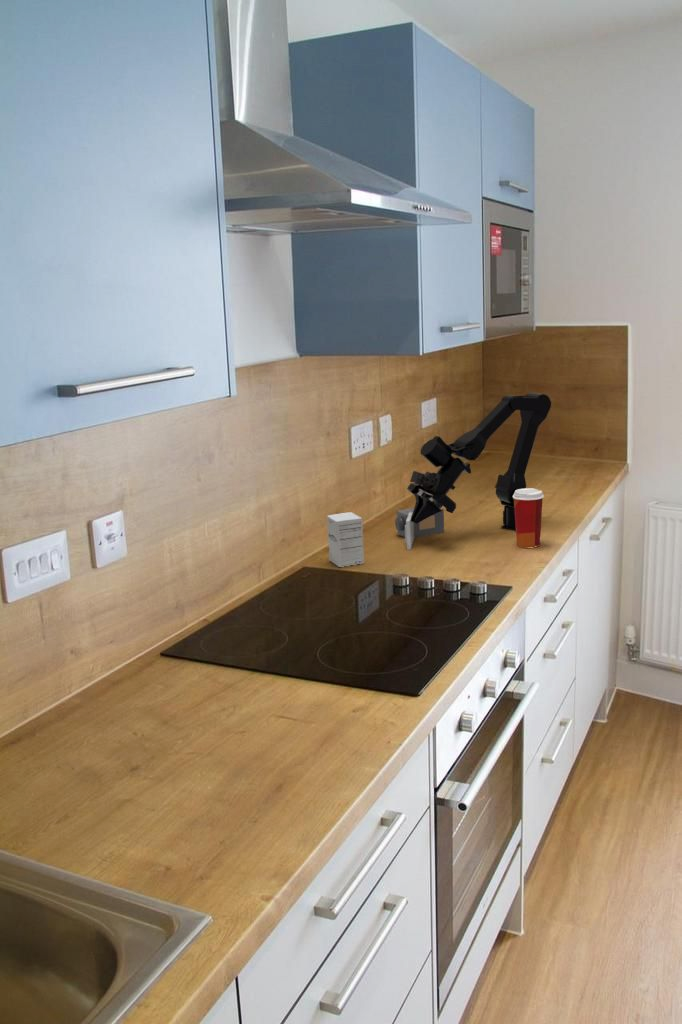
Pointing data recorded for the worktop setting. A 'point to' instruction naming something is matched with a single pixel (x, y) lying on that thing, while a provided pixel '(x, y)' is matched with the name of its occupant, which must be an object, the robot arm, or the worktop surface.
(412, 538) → the side door
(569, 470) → the worktop surface
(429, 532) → the box
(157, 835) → the worktop surface
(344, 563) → the supplement box
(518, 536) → the coffee cup
